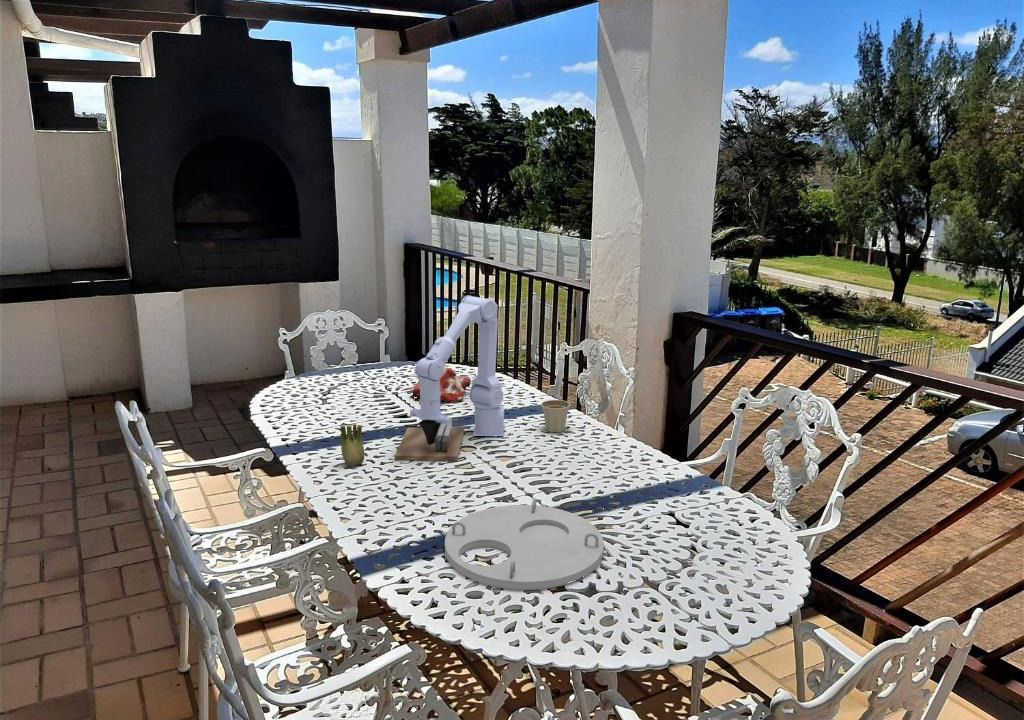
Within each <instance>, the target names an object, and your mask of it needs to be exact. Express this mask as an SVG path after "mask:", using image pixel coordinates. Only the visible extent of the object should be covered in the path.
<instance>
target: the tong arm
mask: <svg viewBox="0 0 1024 720" xmlns="http://www.w3.org/2000/svg"><path fill="white" fill-rule="evenodd" d="M446 427H447V426H446V425H445V424H441V425H440V427H439V428H440V429H439V432H438V435H437V437H436V440H435V452H440V451H441V448H442V439H443V436H444V434H445V430H446Z"/></svg>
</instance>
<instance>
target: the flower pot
mask: <svg viewBox="0 0 1024 720" xmlns="http://www.w3.org/2000/svg"><path fill="white" fill-rule="evenodd" d="M540 406H541V407H542V410H543V417H544V425H545V426H544V427H545V430H546V431H547V432H550V433H562V432H564V431H565V430H566V425H567V420H568V419H567V418H568V412H569V410H570V406H571V403H570V402H569V401H566V400H562V399H561V400H560V399H550V400H549V399H547V400H544V401H542V402H541V403H540Z"/></svg>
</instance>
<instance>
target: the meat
mask: <svg viewBox="0 0 1024 720" xmlns="http://www.w3.org/2000/svg"><path fill="white" fill-rule="evenodd" d="M471 385H472V380H471V378H470V376H465V375H458V376H457V374H456V371H454V369H452V368H450V367H447V366H445V368H444V374H443V376H442V377H441V378H440V402H441V401H445V402H452V403H455V402H457V401H460V400H462V399H463V397H464V395H465V394H466V389H467V388H469V387H470V386H471ZM411 392H412V398H411V399H413V397H414V396H415V397H417V399H420V383H419V381H417V383H415V385H414V386H413V387H412V388H411ZM417 399H416V400H417Z"/></svg>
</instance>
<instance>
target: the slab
mask: <svg viewBox="0 0 1024 720" xmlns="http://www.w3.org/2000/svg"><path fill="white" fill-rule="evenodd" d="M531 502H532V503H531V504H511V505H500V506H495V507H493V506H492V507H490V508H485V509H481V510H479V511H478V510H477V511H475V512H473V513H470V514H468V515H466V516H464V517H462V518H461V519H459V520H458V521H456V522H454V523H453V524H452V526H451V527H450V528H448V531H447V533H446V534H445V538H444V555H445V557H446V559H447V561H448V562H449V564H450V565H451V566H452V568H454V569H455V570H456V571H457V572H459V573H460V574H461V575H463V576H464V577H465V578H468V579H470V580H472V581H474V582H477V583H480V584H483V585H486V586H490V587H494V588H500V589H506V590H515V591H516V590H518V591H519V590H521V591H529V590H530V591H531V590H532V591H533V590H534V591H536V590H546V589H552V588H558V587H563V586H566V585H567V584H566V583H568V582H570V581H574V580H577V579H579V578H581V577H583V576H585V575H587V574H588V575H590V574H591V573H592V572H594V571H595V570H596V569H597V568H598V567H599V565H601V562H602V560H603V557H604V549H605V547H604V546H605V544H604V538H603V536H602V533H601V532H600V531H599V529H598V528H597V527H596V526H595V525H594V524H593V523H592V522H590V521H589V520H587V519H585V518H584V517H583V516H580V515H577V514H575V513H573V512H570V511H566V510H564V509H560V508H556V507H551V506H544V505H537V500H536V498H532V501H531ZM478 548H495V549H498V550H502V551H503V552H505V553H507V555H509V557H508V558H507V559H505V560H504V561H502V562H500V563H497V564H492V565H479V564H478V565H477V564H472V563H469V562H466V561H465V560H463V559H462V558H461V556H462V555H463V554H464V553H465V552H467V551H470V550H472V549H478ZM597 566H598V567H597ZM596 567H597V568H596ZM595 568H596V569H595ZM594 569H595V570H594ZM593 570H594V571H593ZM590 572H591V573H590ZM589 573H590V574H589ZM588 575H587V576H588ZM585 577H586V576H585ZM583 578H584V577H583ZM581 579H582V578H581ZM579 580H580V579H579ZM577 581H578V580H577ZM565 584H566V585H565Z"/></svg>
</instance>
